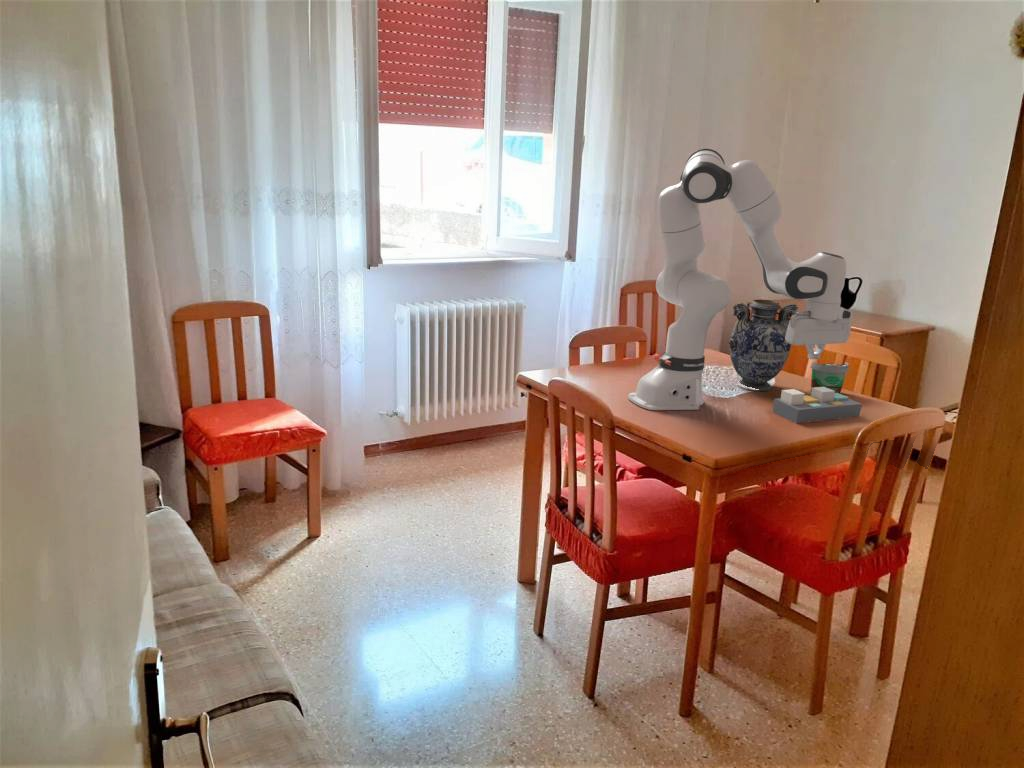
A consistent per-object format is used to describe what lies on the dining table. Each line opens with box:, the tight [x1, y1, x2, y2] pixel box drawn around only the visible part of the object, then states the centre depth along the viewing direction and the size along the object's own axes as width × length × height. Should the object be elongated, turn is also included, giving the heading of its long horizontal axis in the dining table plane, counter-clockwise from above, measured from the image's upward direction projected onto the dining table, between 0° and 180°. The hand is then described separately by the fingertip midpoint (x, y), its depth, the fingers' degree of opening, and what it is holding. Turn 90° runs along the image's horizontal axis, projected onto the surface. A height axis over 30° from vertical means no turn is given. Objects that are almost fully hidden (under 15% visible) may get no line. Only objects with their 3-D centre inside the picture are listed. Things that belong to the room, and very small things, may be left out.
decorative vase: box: [728, 299, 799, 392], centre depth 239 cm, size 21×19×28 cm
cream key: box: [780, 388, 806, 405], centre depth 215 cm, size 4×4×4 cm
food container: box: [810, 361, 850, 394], centre depth 236 cm, size 12×6×10 cm, turn 99°
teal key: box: [834, 393, 849, 401], centre depth 221 cm, size 4×4×4 cm
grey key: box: [810, 387, 835, 402], centre depth 219 cm, size 4×4×4 cm
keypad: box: [772, 397, 863, 424], centre depth 217 cm, size 23×10×4 cm, turn 111°
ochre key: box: [803, 395, 819, 404], centre depth 217 cm, size 4×4×4 cm
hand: (813, 358), depth 213 cm, fingers closed
